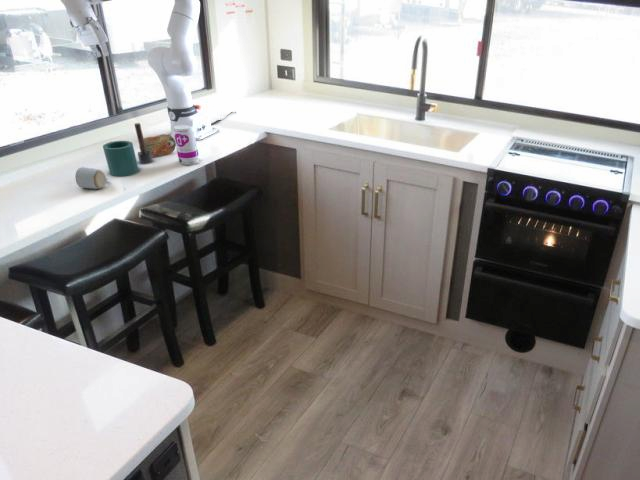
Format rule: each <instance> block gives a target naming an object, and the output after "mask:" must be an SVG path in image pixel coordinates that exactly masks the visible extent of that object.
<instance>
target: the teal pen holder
mask: <svg viewBox="0 0 640 480" xmlns="http://www.w3.org/2000/svg"><path fill="white" fill-rule="evenodd" d="M102 149H103V151H104V152H103V153H104V155H105V161H106V164H107V167H108V171H109V174H110V175H111V176H114V177H127V176H132V175H135V174H136V173H138V172H139V165H138V161H137V157H136V152H135V148H134V144H133V142H132V141H129V140H114V141H110V142H106V143H105V144H103V145H102Z"/></svg>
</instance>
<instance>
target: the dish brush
mask: <svg viewBox="0 0 640 480" xmlns="http://www.w3.org/2000/svg"><path fill="white" fill-rule="evenodd" d="M134 129H135V132H136V137H137V141H138V146H140V148H139V151H138V152H137V157H138V161H139V164H142V165H146V164H150V163H152V162H153V158H152V157H151V153H150V151H146V147H145V143H144V138H145V137H144V134H143V130H142V126H141V123H140V122H136V123H134ZM140 150H141V151H140Z"/></svg>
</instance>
